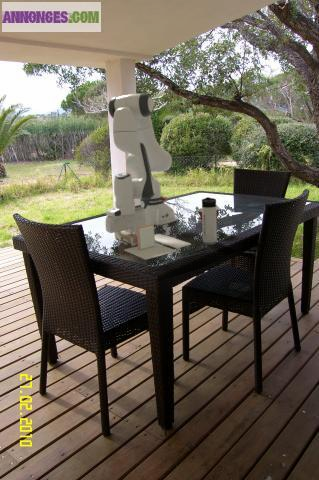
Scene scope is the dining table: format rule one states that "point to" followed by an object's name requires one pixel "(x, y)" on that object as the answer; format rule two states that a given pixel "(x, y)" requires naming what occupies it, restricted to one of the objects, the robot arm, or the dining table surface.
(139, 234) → the tile
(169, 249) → the mat
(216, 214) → the plastic cup
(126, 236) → the beige rectangular bar
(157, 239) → the board
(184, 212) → the dining table surface
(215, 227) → the travel mug
